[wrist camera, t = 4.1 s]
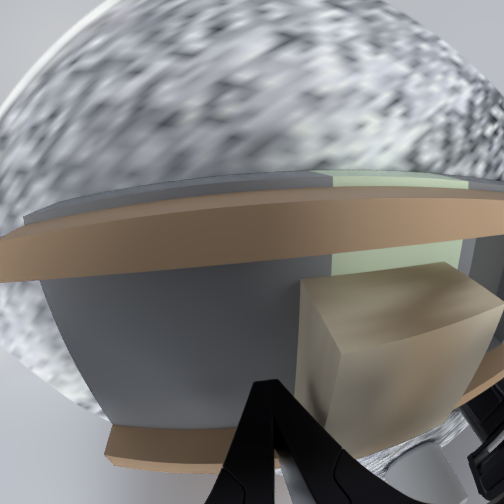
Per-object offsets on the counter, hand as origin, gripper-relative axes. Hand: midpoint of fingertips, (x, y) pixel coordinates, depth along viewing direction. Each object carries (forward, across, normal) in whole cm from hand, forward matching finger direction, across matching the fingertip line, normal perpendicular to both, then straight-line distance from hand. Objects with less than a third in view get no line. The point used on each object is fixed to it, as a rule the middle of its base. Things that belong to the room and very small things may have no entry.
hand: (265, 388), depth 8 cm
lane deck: (+4, -5, 0) cm, 7 cm away
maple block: (+2, -4, 0) cm, 5 cm away
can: (+4, -17, +25) cm, 31 cm away
